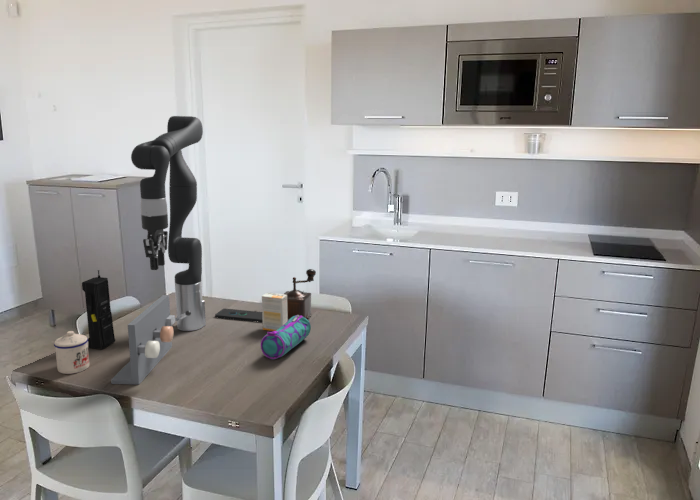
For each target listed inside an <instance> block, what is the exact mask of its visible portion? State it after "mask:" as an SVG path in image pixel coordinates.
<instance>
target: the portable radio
mask: <svg viewBox="0 0 700 500" xmlns="http://www.w3.org/2000/svg"><path fill="white" fill-rule="evenodd" d="M97 273H98V274H97V277H92V278H89V279H87V280H84V281H82V282H81V287H82V288H81V289H82V291H83V292H84V298H85V308H86V316H87V318H86V319H87V327H88V337H87V338H88V348H89V349H98V350H104V349H105V348H107V347H109V346H111V345H112V344H114V343H115V342H116V338H115V330H114V329H115V328H114V324H113V323H114V322H113V313H112V310H111V299H110V289H109V279H108V277H103V276H102V277H101V275H100V270H97Z"/></svg>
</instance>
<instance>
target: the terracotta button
mask: <svg viewBox="0 0 700 500" xmlns="http://www.w3.org/2000/svg"><path fill="white" fill-rule="evenodd" d="M174 334H175V333H174V327H173V325H172V326H163V327H162V328H161V330H154V331H153V338H160V340H161V342H171V341H172V342H173V338H174Z"/></svg>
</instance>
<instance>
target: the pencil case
mask: <svg viewBox="0 0 700 500" xmlns="http://www.w3.org/2000/svg"><path fill="white" fill-rule="evenodd" d="M311 327H312V326H311V322H310V320H307V319H306V318H304V317H302V316H299V315H296V316H293V317H291V318H290V319H288V321H287V322H286V323H285V324H284V325H283V326H281V327H280V328H279V329H278V330H276V331H267V332H266V334H265V335H264V336H263V337H262V338H261V341H260V349H261V352H262V354H263V355H264V356H265V357H266V358H268V359H270V360H277V359H280V358H282V357H283V356H285V355H286V354H288V352H290V351H291V350H292V349H294V348H295V347H296V346H298V345H299V344H300V343H301V342H302V341H304V340H305V339H306V338H308V336H309V334H310V333H311Z"/></svg>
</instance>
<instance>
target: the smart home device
mask: <svg viewBox="0 0 700 500" xmlns="http://www.w3.org/2000/svg"><path fill="white" fill-rule="evenodd" d="M215 317H218V318H217V319H223V318H225V320H233V319H234V321H243V320H244V321H245V322H253V321H256V322H255V323H263V319H262V311H255V310H244V309H236V308H235V309H233V308H222V309H221V310H220V311H218V312H217V313H215V315H214V318H215ZM244 321H243V322H244ZM257 321H258V322H257Z"/></svg>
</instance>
